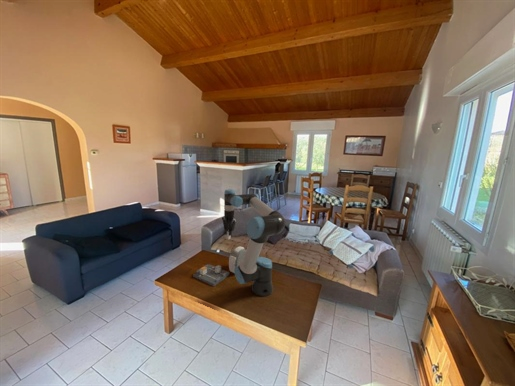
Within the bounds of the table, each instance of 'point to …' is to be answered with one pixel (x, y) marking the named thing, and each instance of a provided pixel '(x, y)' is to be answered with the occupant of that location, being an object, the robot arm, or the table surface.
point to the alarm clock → (236, 257)
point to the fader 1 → (203, 270)
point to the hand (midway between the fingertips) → (228, 238)
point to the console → (211, 275)
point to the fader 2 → (217, 269)
